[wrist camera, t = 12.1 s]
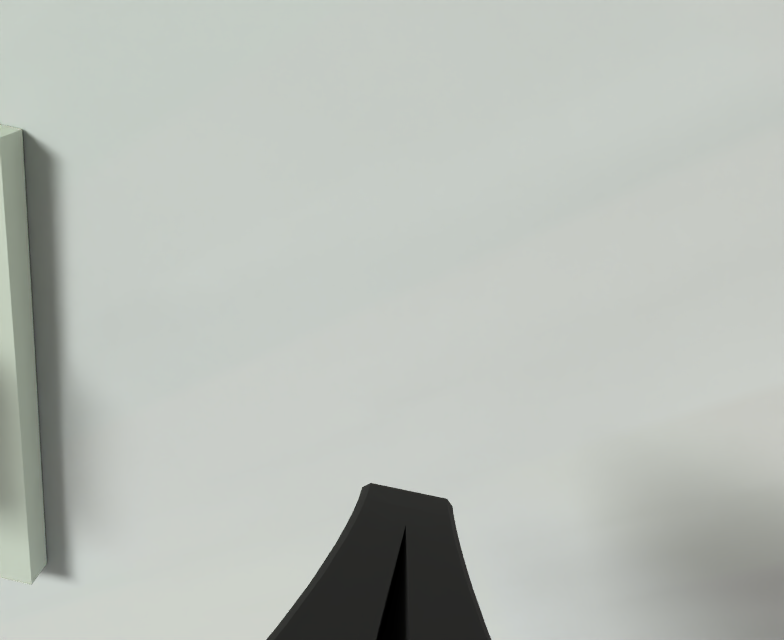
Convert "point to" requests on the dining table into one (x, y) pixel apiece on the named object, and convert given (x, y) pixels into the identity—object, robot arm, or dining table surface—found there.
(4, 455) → the board
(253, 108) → the dining table surface
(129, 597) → the dining table surface
